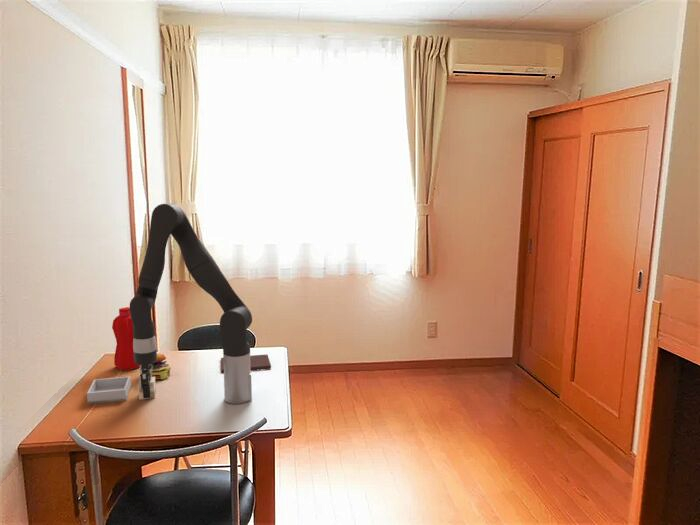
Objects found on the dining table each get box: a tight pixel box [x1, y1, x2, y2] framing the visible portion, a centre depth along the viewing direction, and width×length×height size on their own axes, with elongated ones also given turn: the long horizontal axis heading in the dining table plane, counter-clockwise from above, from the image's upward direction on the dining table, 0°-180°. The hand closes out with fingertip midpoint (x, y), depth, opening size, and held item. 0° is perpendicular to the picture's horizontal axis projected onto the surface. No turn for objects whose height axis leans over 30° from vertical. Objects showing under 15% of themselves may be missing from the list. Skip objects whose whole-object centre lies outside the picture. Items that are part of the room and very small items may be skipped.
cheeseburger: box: [152, 353, 172, 380], centre depth 201 cm, size 10×11×10 cm
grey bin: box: [86, 376, 132, 405], centre depth 183 cm, size 12×12×4 cm
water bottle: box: [111, 306, 141, 371], centre depth 208 cm, size 9×11×25 cm
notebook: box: [220, 353, 272, 374], centre depth 214 cm, size 15×20×2 cm
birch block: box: [137, 377, 157, 400], centre depth 182 cm, size 5×5×6 cm
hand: (147, 394), depth 183 cm, fingers closed on birch block, 5 cm apart
